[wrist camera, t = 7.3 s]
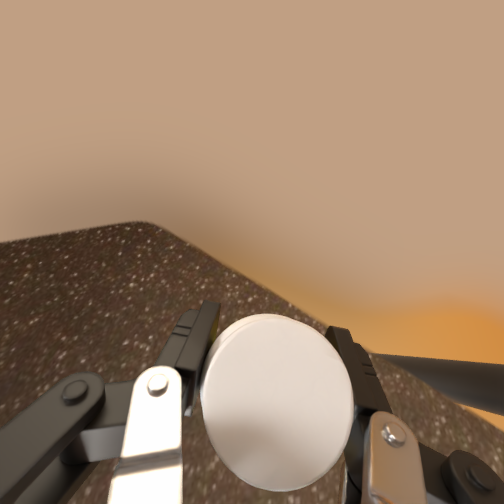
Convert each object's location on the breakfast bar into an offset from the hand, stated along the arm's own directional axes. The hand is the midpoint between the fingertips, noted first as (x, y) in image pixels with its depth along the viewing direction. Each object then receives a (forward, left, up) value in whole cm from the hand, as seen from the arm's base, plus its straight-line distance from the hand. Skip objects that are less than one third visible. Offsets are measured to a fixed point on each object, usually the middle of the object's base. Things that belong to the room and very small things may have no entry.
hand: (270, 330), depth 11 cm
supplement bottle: (+2, +1, -4) cm, 5 cm away
